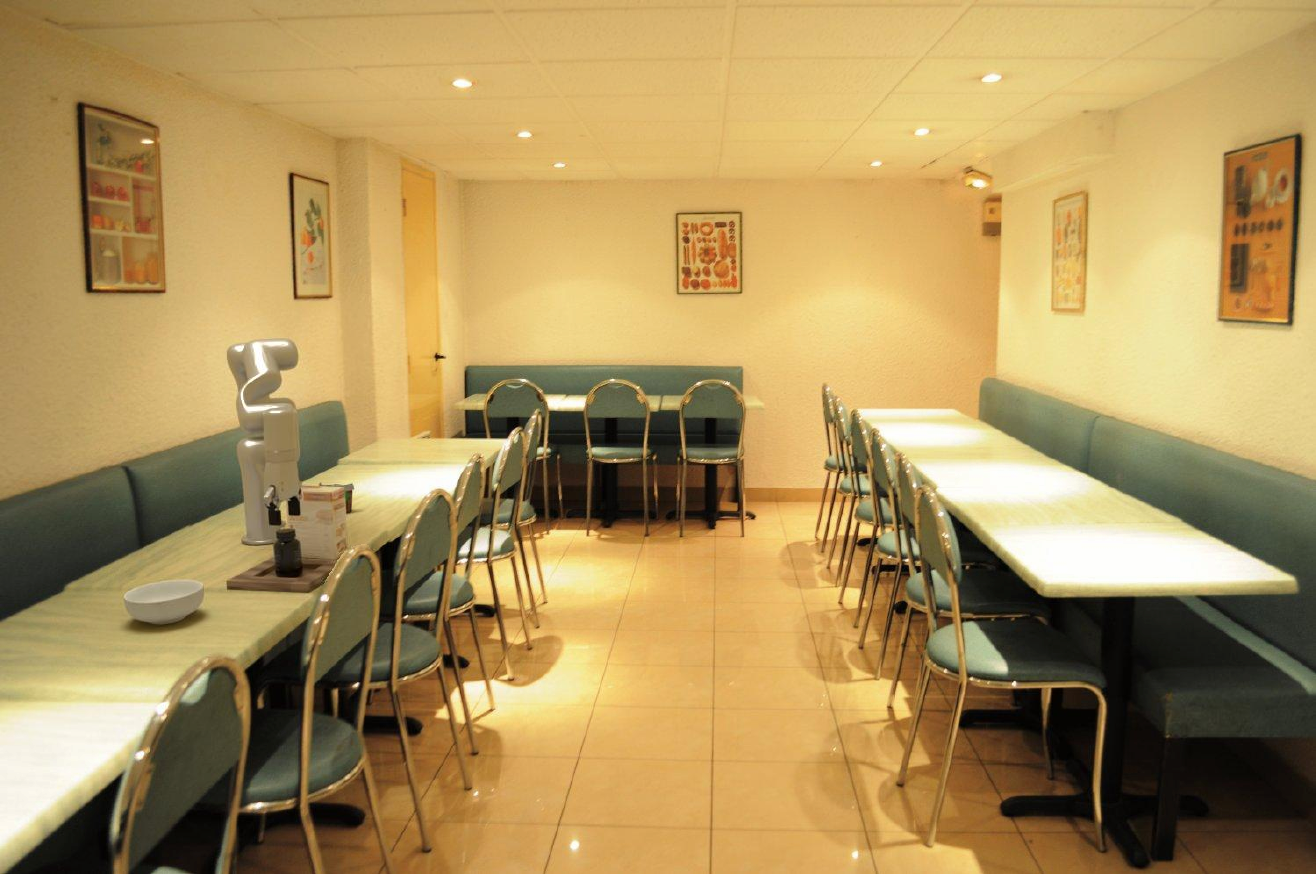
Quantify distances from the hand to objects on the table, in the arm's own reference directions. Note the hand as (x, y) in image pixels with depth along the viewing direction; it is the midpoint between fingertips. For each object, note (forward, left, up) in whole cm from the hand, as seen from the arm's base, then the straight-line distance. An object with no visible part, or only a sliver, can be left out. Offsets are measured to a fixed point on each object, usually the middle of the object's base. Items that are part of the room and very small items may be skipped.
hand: (285, 520), depth 269 cm
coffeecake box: (-21, -3, -16) cm, 27 cm away
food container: (-70, -23, -16) cm, 76 cm away
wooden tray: (+1, 0, -15) cm, 15 cm away
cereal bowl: (+35, -12, -16) cm, 40 cm away
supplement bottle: (0, 0, -15) cm, 15 cm away
